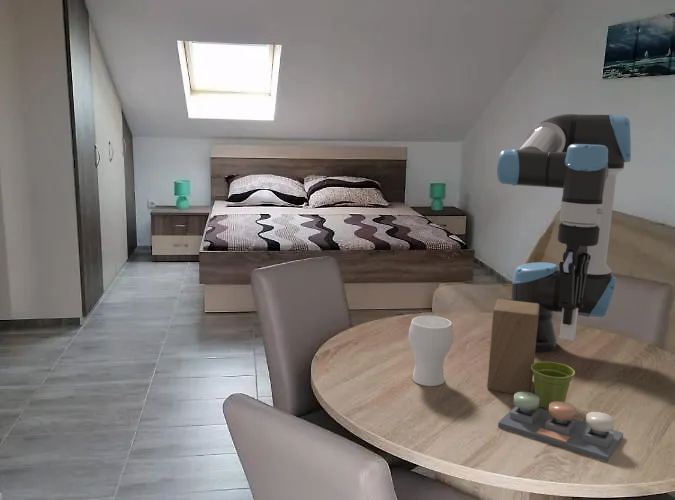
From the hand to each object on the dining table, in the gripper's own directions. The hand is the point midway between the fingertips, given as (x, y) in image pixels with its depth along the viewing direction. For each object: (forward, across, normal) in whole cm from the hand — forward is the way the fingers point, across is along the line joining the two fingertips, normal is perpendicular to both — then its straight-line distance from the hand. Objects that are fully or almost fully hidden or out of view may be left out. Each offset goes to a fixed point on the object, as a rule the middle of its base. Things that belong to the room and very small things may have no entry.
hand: (567, 338), depth 129 cm
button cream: (+17, -1, -8) cm, 19 cm away
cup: (+20, +5, +33) cm, 39 cm away
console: (+20, -1, -1) cm, 20 cm away
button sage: (+17, -1, +7) cm, 19 cm away
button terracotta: (+17, -1, -1) cm, 17 cm away
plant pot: (+20, +10, +5) cm, 23 cm away
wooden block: (+20, +15, +16) cm, 30 cm away
